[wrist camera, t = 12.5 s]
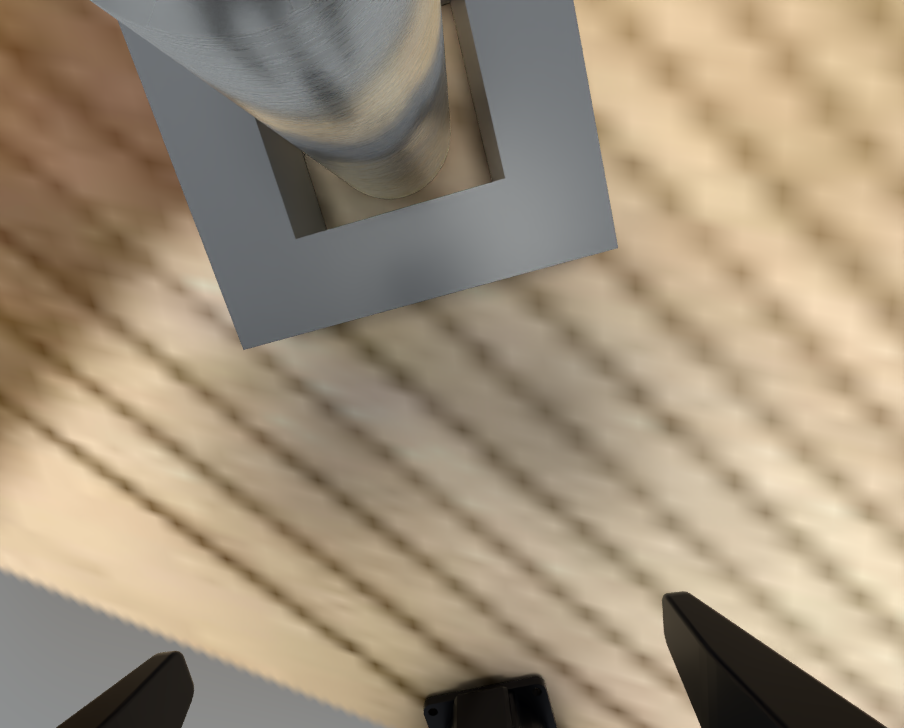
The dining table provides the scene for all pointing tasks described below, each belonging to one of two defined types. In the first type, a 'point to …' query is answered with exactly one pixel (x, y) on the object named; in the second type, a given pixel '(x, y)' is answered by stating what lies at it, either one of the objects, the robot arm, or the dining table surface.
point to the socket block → (407, 229)
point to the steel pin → (321, 76)
